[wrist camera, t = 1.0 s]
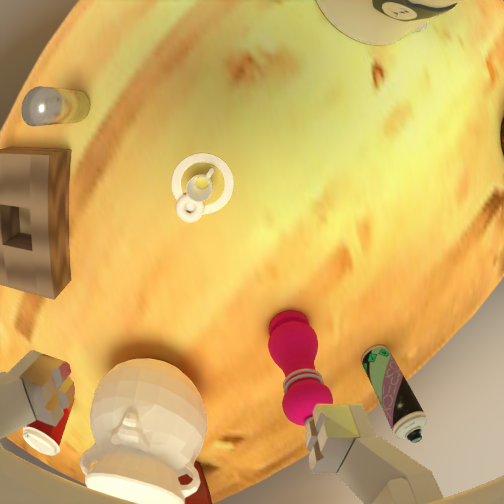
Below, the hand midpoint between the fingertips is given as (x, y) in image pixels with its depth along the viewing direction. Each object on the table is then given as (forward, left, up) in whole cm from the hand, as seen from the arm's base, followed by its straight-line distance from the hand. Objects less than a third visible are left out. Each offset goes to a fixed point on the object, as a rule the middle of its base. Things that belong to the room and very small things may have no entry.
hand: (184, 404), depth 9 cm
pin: (-8, -21, -33) cm, 40 cm away
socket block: (+8, -27, -33) cm, 44 cm away
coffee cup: (+48, -28, -34) cm, 65 cm away
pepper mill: (+20, +14, -34) cm, 41 cm away
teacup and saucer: (+1, -5, -34) cm, 34 cm away
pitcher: (+35, -6, -34) cm, 49 cm away
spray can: (+25, +32, -34) cm, 52 cm away
